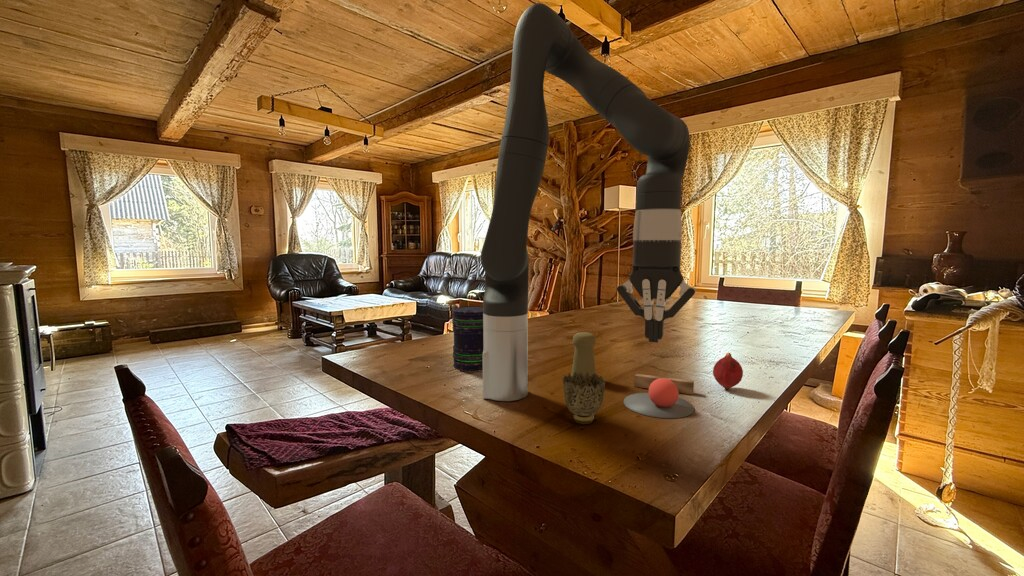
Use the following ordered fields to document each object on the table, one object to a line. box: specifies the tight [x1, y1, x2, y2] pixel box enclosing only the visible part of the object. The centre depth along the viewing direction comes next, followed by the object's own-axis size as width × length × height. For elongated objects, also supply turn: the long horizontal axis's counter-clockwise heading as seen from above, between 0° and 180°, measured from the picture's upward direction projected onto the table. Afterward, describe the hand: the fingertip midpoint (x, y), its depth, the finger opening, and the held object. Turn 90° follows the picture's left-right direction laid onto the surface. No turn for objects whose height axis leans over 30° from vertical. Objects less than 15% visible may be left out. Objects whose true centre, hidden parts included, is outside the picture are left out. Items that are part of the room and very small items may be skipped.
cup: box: [562, 372, 606, 425], centre depth 76 cm, size 8×7×8 cm
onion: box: [712, 352, 744, 390], centre depth 93 cm, size 6×6×8 cm
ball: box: [647, 378, 680, 407], centre depth 84 cm, size 6×6×6 cm
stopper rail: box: [633, 373, 695, 395], centre depth 93 cm, size 12×2×2 cm, turn 65°
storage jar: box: [451, 305, 483, 372], centre depth 111 cm, size 10×10×15 cm
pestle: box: [570, 331, 597, 376], centre depth 100 cm, size 6×6×11 cm
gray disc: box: [623, 392, 695, 419], centre depth 85 cm, size 13×13×1 cm
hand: (653, 341), depth 73 cm, fingers closed
